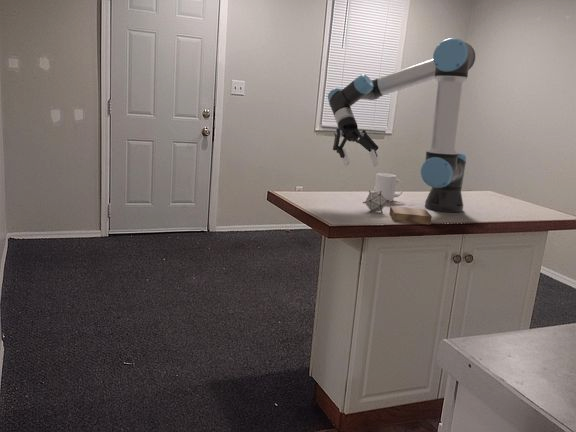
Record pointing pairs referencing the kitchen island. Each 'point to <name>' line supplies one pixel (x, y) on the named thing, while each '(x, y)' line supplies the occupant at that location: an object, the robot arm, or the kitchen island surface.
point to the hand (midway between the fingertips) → (362, 164)
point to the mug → (387, 185)
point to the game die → (375, 201)
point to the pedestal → (410, 215)
